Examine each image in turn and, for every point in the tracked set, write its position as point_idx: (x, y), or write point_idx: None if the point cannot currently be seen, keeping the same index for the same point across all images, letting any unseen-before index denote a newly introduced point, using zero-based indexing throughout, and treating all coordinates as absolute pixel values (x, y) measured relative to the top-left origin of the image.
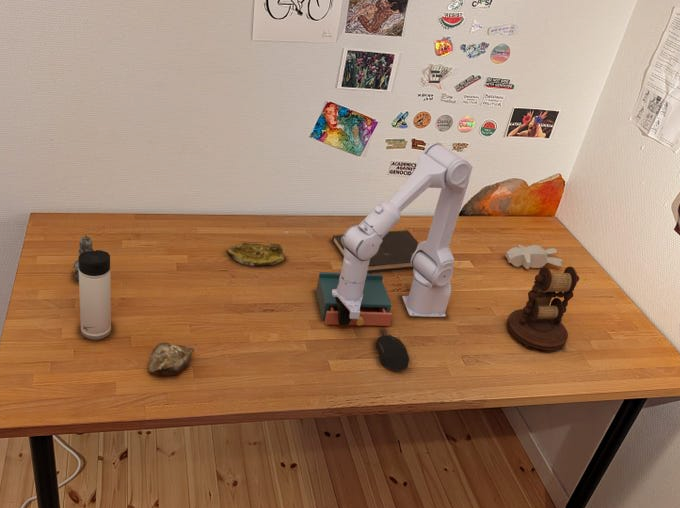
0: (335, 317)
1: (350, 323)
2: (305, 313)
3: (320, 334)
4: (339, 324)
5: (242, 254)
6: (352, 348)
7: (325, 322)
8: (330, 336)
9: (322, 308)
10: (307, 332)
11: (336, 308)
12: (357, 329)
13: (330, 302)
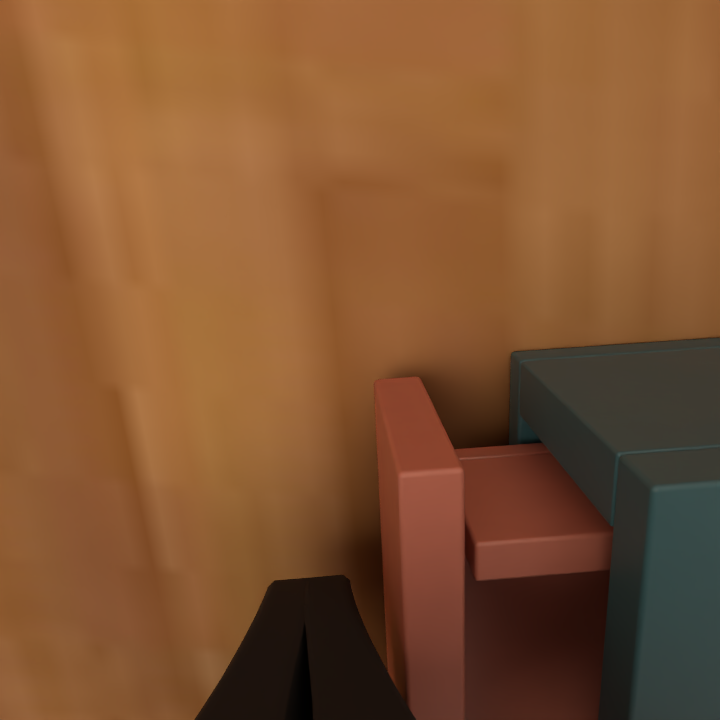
0: (391, 565)
1: None
2: (658, 118)
3: (201, 297)
4: (268, 593)
5: None
6: (4, 643)
7: (380, 389)
8: (181, 422)
9: (678, 375)
10: (217, 108)
11: None
12: None
13: (671, 582)
